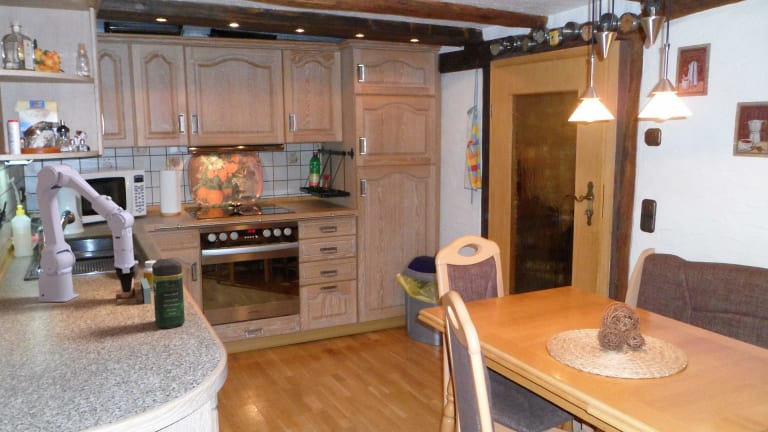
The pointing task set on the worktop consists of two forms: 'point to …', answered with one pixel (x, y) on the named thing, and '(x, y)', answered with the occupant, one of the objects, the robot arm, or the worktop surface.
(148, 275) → the supplement bottle
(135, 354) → the worktop surface
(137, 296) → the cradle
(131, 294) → the pink egg shape
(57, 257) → the robot arm
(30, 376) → the worktop surface
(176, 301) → the coffee jar
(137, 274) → the perforated stone tool
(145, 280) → the backstop board
